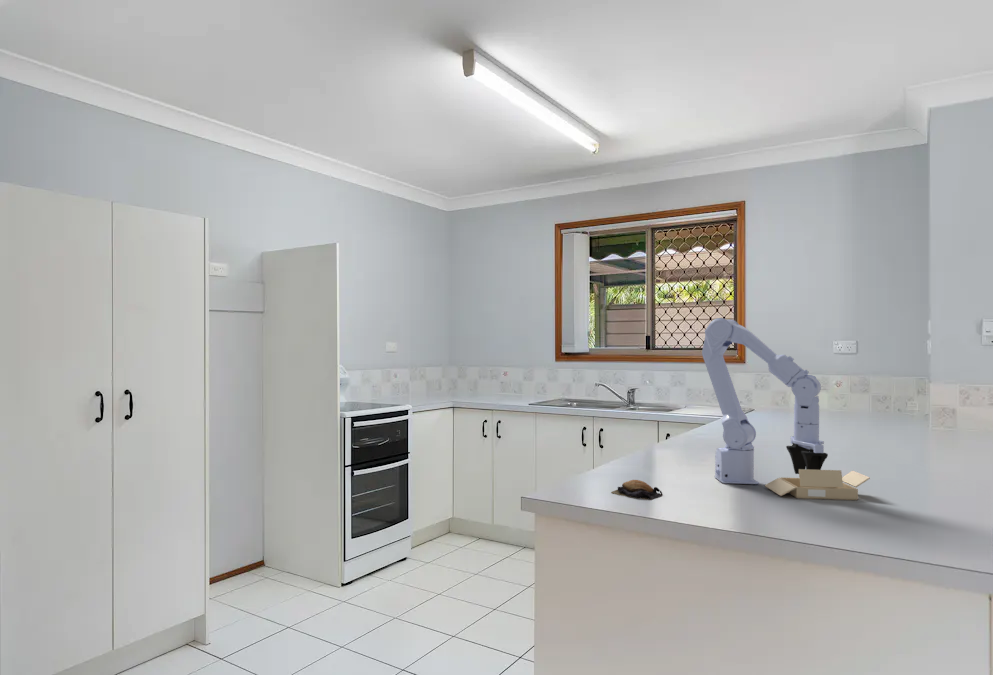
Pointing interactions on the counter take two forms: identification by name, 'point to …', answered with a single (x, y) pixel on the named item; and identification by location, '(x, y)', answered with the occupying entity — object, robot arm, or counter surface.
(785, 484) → the carton
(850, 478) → the right flap
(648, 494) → the brown black domed lump
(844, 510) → the counter surface
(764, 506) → the counter surface
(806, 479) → the front flap
